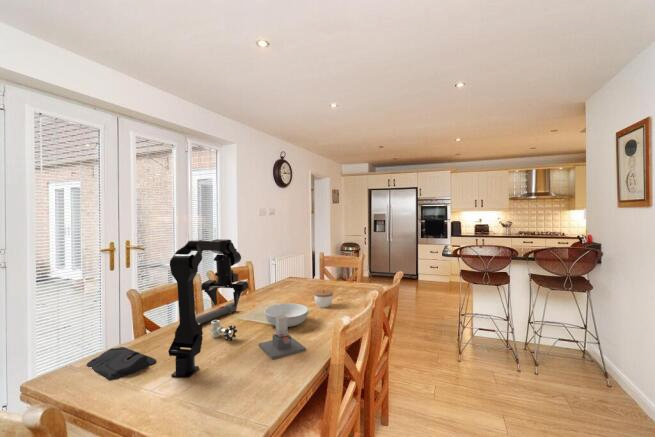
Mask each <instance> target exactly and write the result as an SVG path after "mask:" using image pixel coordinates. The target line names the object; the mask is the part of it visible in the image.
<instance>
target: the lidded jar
mask: <svg viewBox="0 0 655 437" xmlns="http://www.w3.org/2000/svg"><path fill="white" fill-rule="evenodd" d="M313 293H314V294H313V295H314V296H313V297H314V303H315V304H316V306H317V307H319V308H320V309H321V308H325V309H326V308H329V306H330V305H331V304H332V302H333V296H334V292H333V291H331V290H326V289H322V290H316V291H314V292H313Z"/></svg>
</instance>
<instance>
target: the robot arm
mask: <svg viewBox="0 0 655 437" xmlns="http://www.w3.org/2000/svg"><path fill="white" fill-rule="evenodd" d="M235 247H236V246H235V245H234V243H233V241H232V240H231V239H213V240H211V241H210V240H203V239H190V240H188V241H187V243H185V245H184V246H182V247H180V248H178V250H176V251H175V253H174V255H173V256H172V257H171V258H170V260H169V269H170V273H171V275H172V277H173V279H174V280H175V281H176V286H177V299H178V300H177V302H178V304H177V305H178V319H179V324H178V326H177V328H176V330H175V331H174V338H173V340H172V342H171V345H170V347H169V349H168V355H169V357H175V370H174V371H173V373H171V375H170V376H171V377H172V378H173V377H175V378H179V377H180V378H191V377H192V376H193V375H194V374H195V372H197V371H198V369H200V366H198V365H195V364H196V363H195V362H196V361H195V359H196V358H195V357H196V356H197V355H199V354H200V353H201V350H202V344H203V339H204V338H203V335H204V332H203V323H202V324H201V323H197V322H196V319H195V317H196V307H195V306H196V305H195V303H196V302H195V287H194V279H195V277H196V276H197V273H198V272H199V271H198V270H199V265H200V263H201V262H202V260H203V251H204V252H205V251H209V252H211V253H213V254H216V256H215V257H214V258H213V261H214V262H216V263H215V266H216V272H215V274H214V276H215V277H216V279H214V280H213V279H208V280H205V281H204V282H202V283H201V285H200V287H201V288H200V289H201V291H203V292H204V293H206V295H208V297H209V298H210V299H211V301H212V303H213V304H214V306H217V305H218V294H217V292H218V288H219V289H220V288H221V289H233V292H232V294H233V302H234V304H235V306H237V307H238V305H239V300H240V297H241V295H242V293H243V292H244V291H246V290H247V289H249V282H248V281H244V280H242V281H240V280H239V275H240V274H239V273H234V270H233V269H232V267H233V266H235V265H236V264H238V263H240V262H241V260H242V255H241V253H240V252H239V251H237V250H238V249H237V248H235ZM191 252H195V254H191Z"/></svg>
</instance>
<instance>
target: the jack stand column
mask: <svg viewBox="0 0 655 437" xmlns="http://www.w3.org/2000/svg"><path fill="white" fill-rule="evenodd" d="M275 334H276V337H278V338H283V337H287V336H288V334H289V333H288V325H287V316H285V315H279V316H276V326H275Z"/></svg>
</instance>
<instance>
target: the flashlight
mask: <svg viewBox="0 0 655 437" xmlns="http://www.w3.org/2000/svg"><path fill="white" fill-rule="evenodd" d="M237 308H238V305H237V306H235V304H234V301H233V302H232V301H231V302H230V303H227V304H225V305H224V306H220V307H218V308H216V309H213V310H211V311H207V312H206V313H203V314H199V315H197V316H195V319H196V322H197V323H201V324H202V325H203V324H204V323H207V322H211V321H213V320H216V319H217V318H220V317H221V316H224V315H227V314H232V313H234V312H236V311H237V310H238V309H237Z"/></svg>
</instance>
